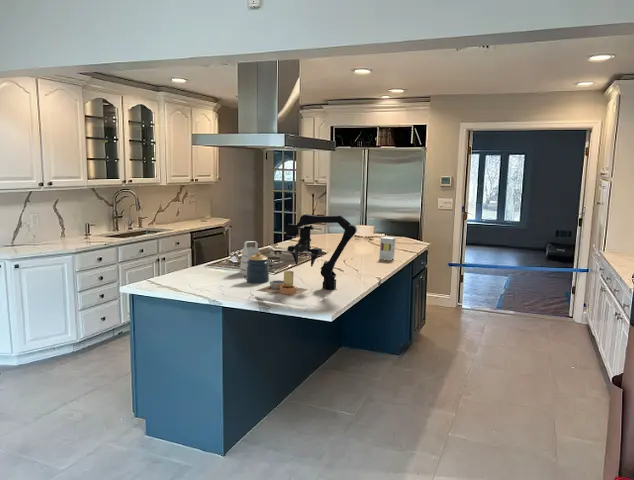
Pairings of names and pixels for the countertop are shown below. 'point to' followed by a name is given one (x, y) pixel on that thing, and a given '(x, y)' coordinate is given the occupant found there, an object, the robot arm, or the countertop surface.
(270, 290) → the walnut board
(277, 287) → the steel stand collar
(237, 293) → the countertop surface
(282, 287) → the ring
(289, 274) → the brass shaft
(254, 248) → the grater
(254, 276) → the canister
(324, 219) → the robot arm
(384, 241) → the supplement box
